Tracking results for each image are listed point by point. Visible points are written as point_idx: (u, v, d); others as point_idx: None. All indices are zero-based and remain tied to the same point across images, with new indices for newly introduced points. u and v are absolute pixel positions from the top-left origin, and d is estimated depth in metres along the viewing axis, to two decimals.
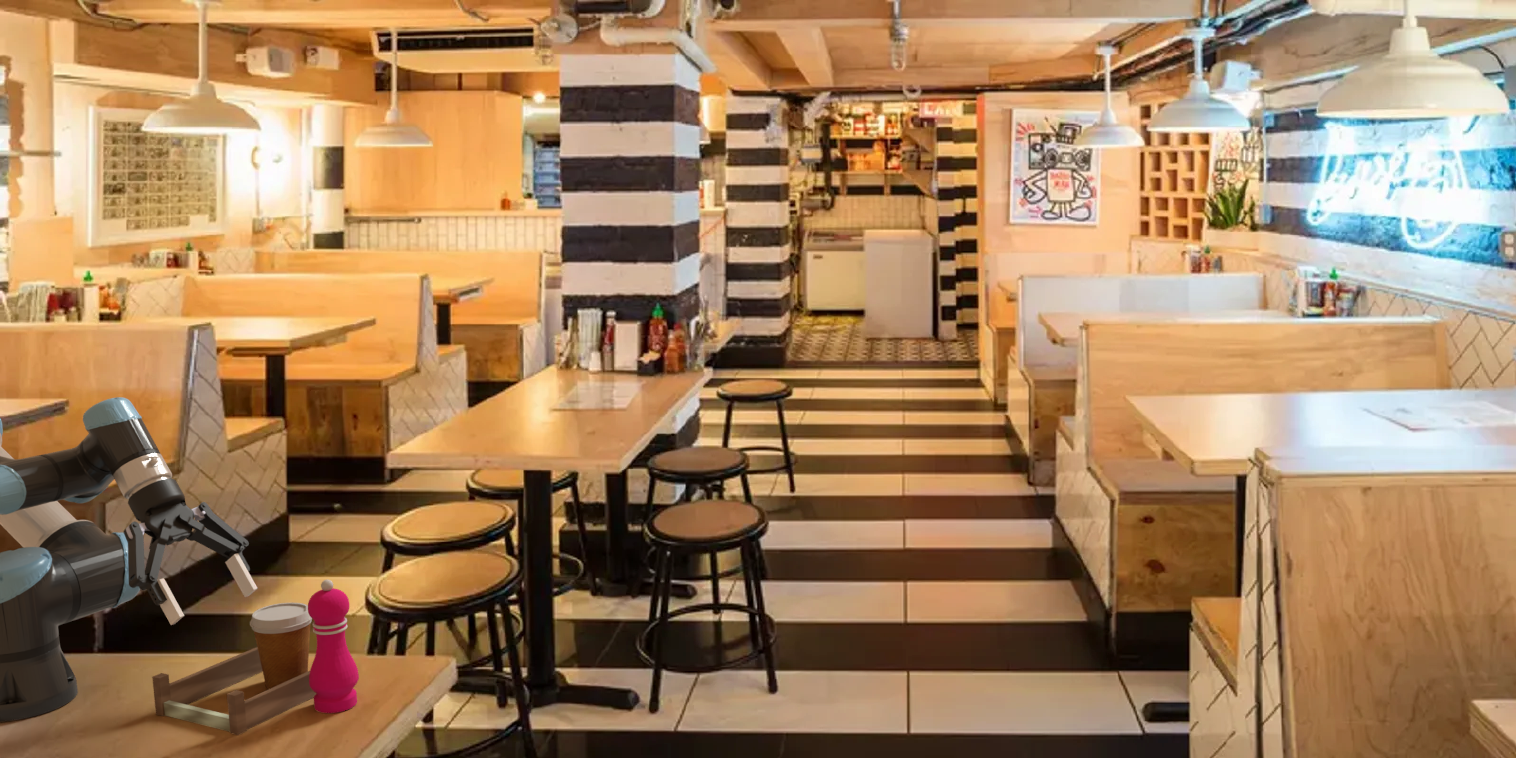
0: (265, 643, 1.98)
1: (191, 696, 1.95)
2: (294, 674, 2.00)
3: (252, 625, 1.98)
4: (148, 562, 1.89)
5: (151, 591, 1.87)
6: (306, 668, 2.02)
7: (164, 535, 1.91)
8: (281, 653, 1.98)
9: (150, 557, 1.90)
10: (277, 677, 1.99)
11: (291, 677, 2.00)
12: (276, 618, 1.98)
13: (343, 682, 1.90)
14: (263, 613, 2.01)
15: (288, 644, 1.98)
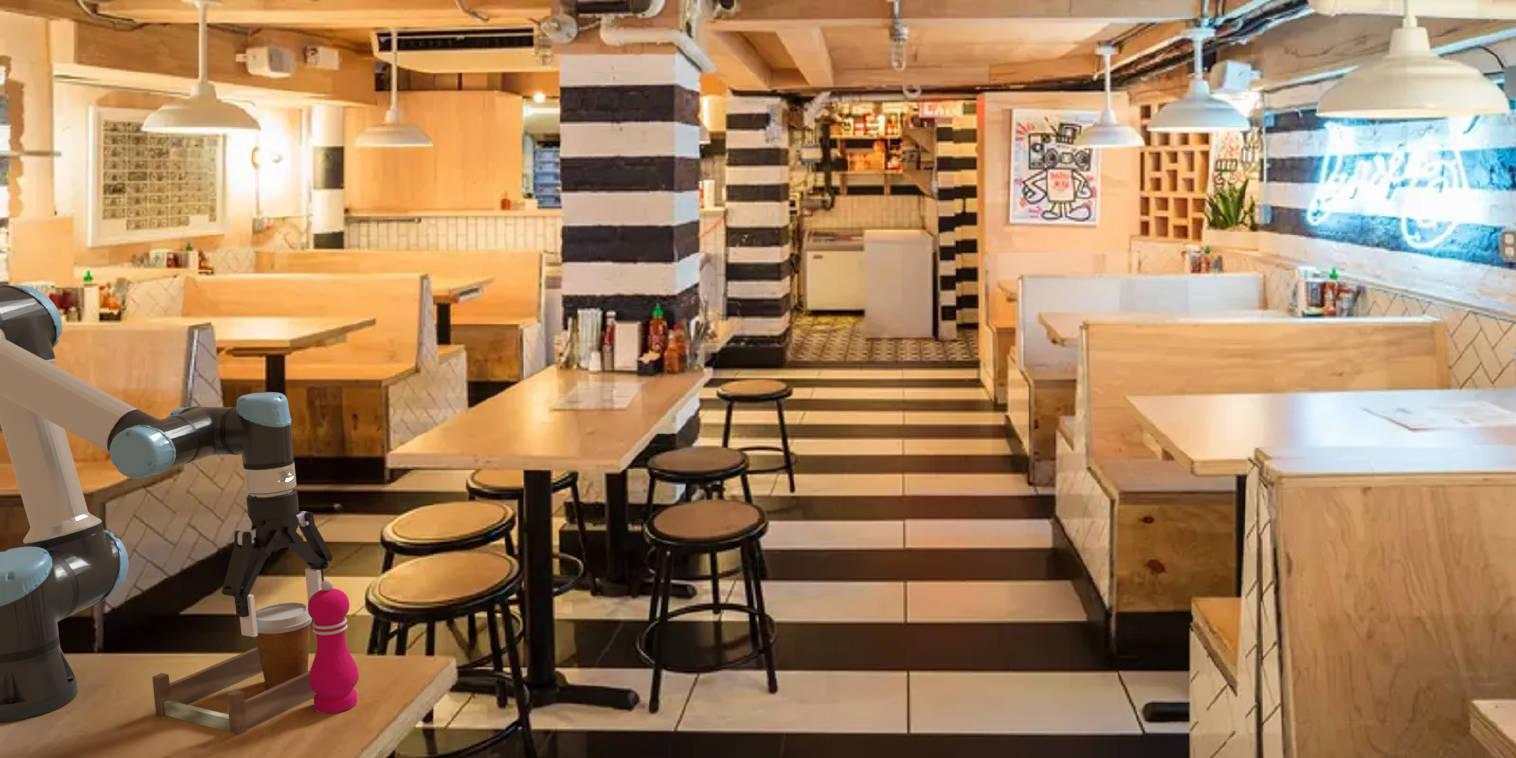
0: (265, 643, 1.98)
1: (191, 696, 1.95)
2: (294, 674, 2.00)
3: None
4: (245, 570, 1.94)
5: (238, 604, 1.93)
6: (306, 668, 2.02)
7: (268, 550, 1.95)
8: (281, 653, 1.98)
9: (248, 566, 1.94)
10: (277, 677, 1.99)
11: (291, 677, 2.00)
12: (276, 618, 1.98)
13: (343, 682, 1.90)
14: (263, 613, 2.01)
15: (288, 644, 1.98)
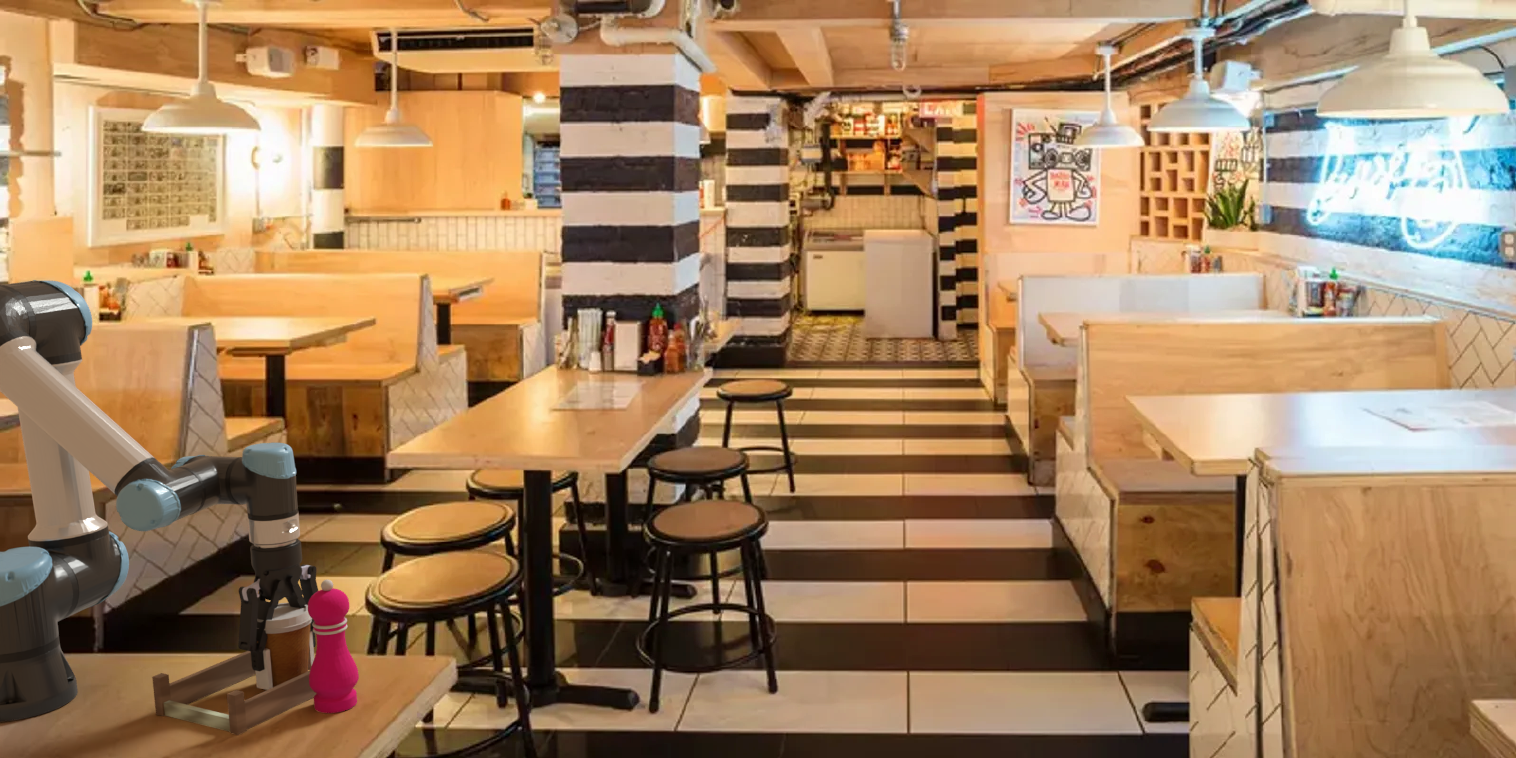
0: None
1: (191, 696, 1.95)
2: (294, 674, 2.00)
3: None
4: (256, 624, 1.97)
5: (254, 658, 1.96)
6: (306, 668, 2.02)
7: (275, 601, 1.97)
8: (281, 653, 1.98)
9: None
10: (277, 677, 1.99)
11: (291, 677, 2.00)
12: (276, 618, 1.98)
13: (343, 682, 1.90)
14: None
15: (288, 644, 1.98)
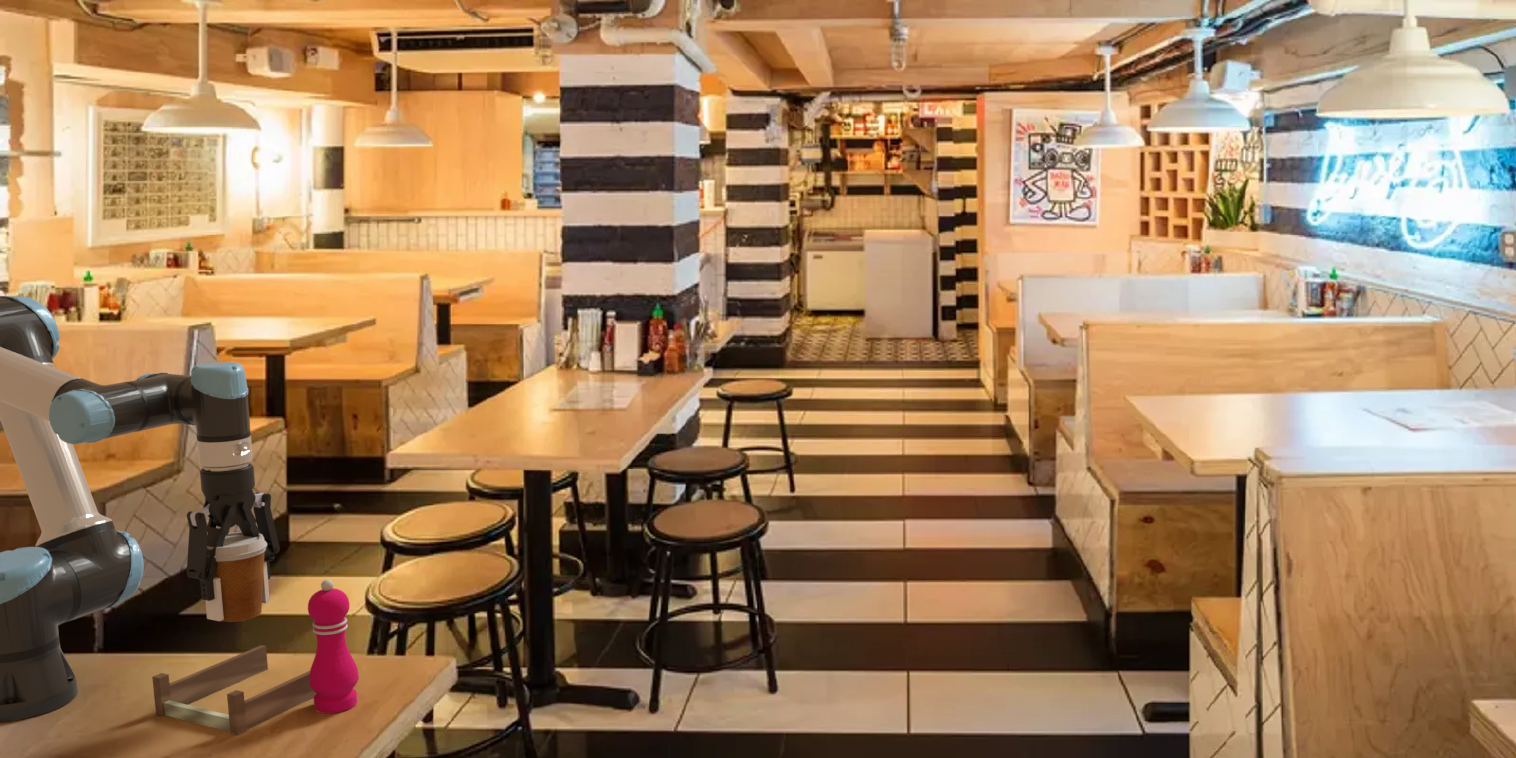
0: (216, 571, 1.88)
1: (191, 696, 1.95)
2: (246, 605, 1.91)
3: None
4: (206, 551, 1.88)
5: (204, 587, 1.87)
6: (260, 599, 1.93)
7: (226, 528, 1.88)
8: (233, 582, 1.89)
9: None
10: (229, 607, 1.90)
11: (243, 608, 1.90)
12: (227, 546, 1.89)
13: (343, 682, 1.90)
14: None
15: (239, 573, 1.89)
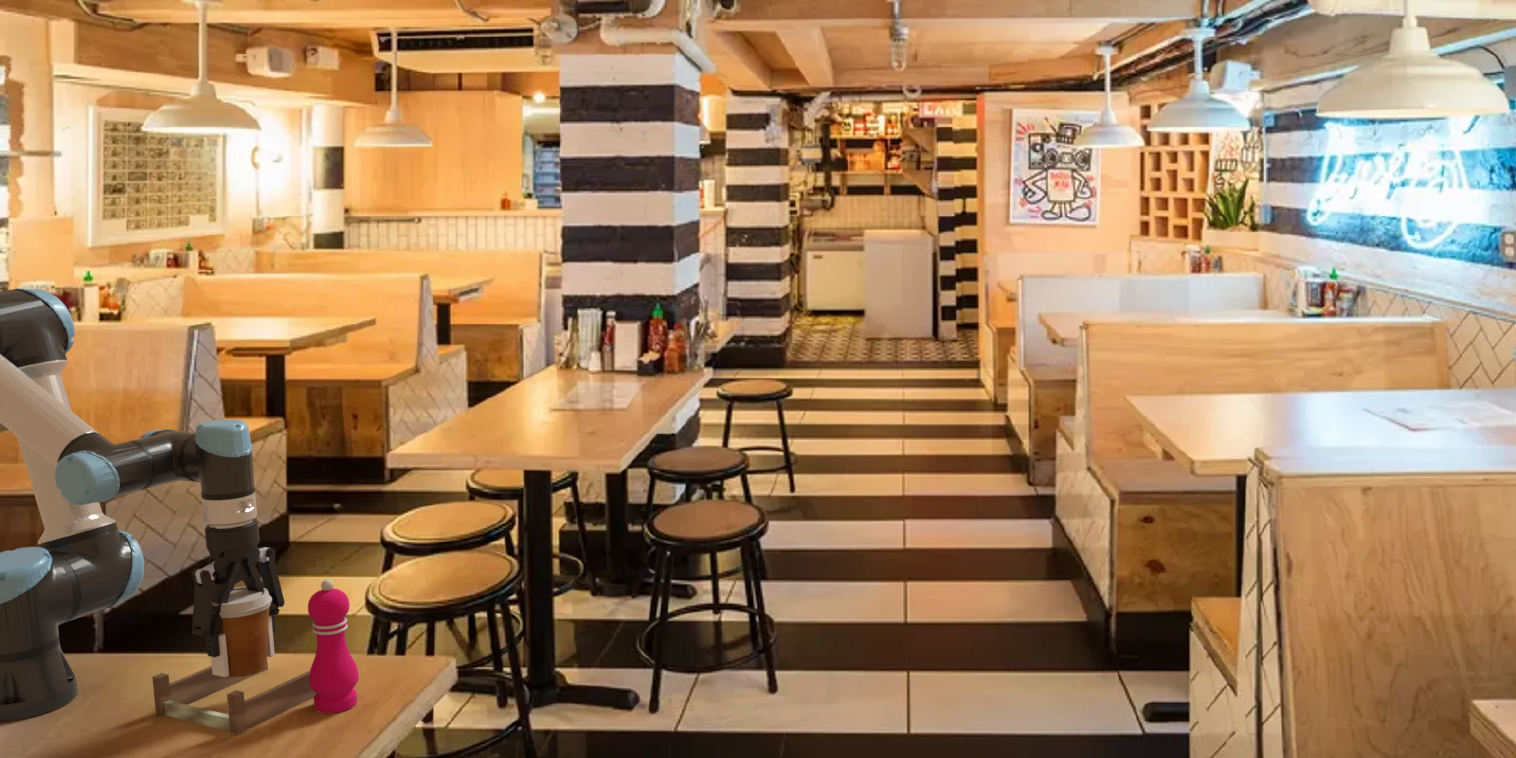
0: None
1: (191, 696, 1.95)
2: (251, 661, 1.92)
3: None
4: (211, 608, 1.89)
5: (209, 643, 1.88)
6: (265, 654, 1.94)
7: (231, 584, 1.90)
8: (238, 638, 1.90)
9: None
10: (234, 663, 1.91)
11: (249, 663, 1.92)
12: (232, 602, 1.91)
13: (343, 682, 1.90)
14: None
15: (245, 629, 1.90)
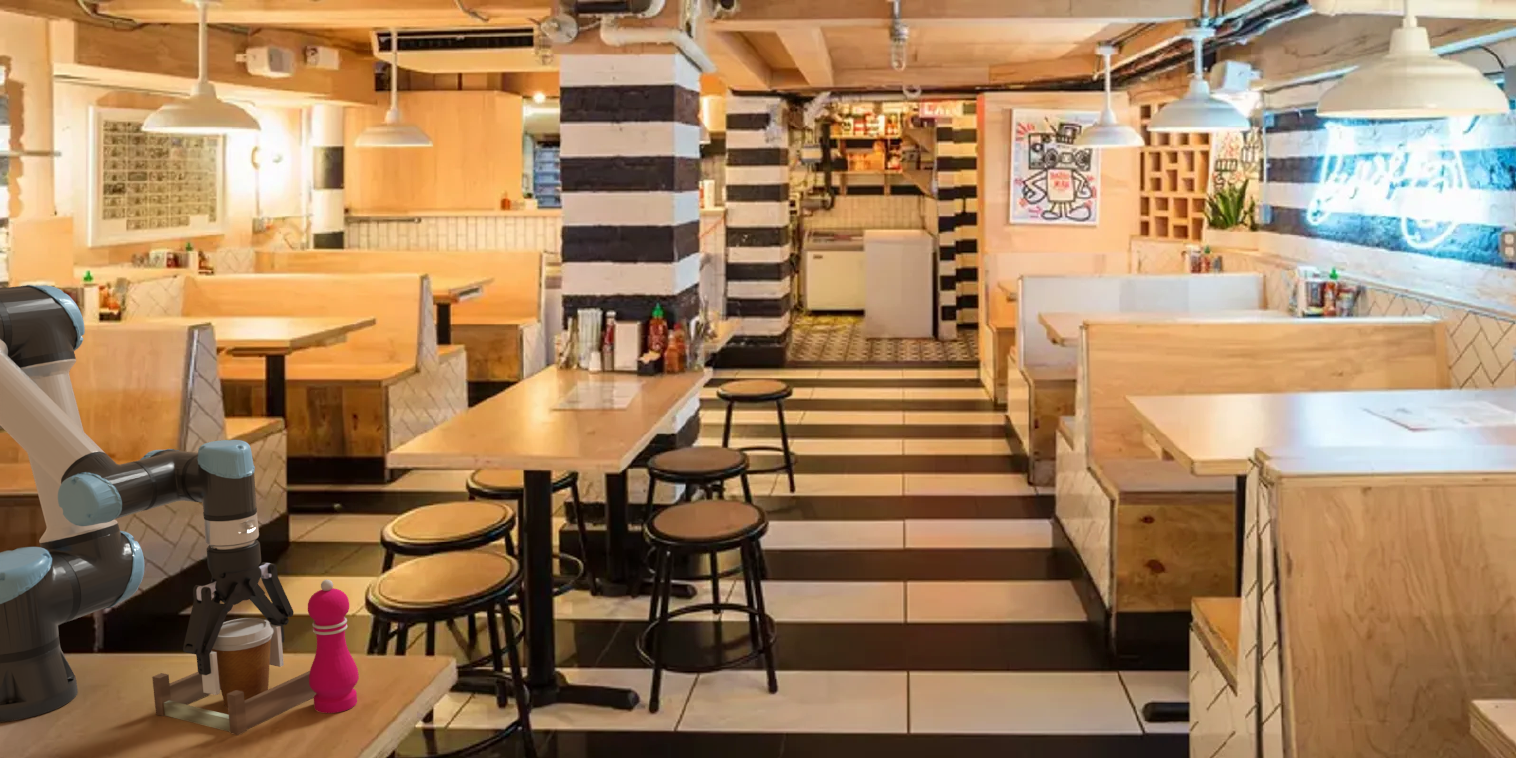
0: (223, 660, 1.90)
1: (191, 696, 1.95)
2: (253, 693, 1.93)
3: None
4: (206, 626, 1.89)
5: (200, 661, 1.87)
6: (266, 686, 1.95)
7: (229, 604, 1.90)
8: (240, 671, 1.91)
9: (209, 621, 1.89)
10: None
11: (250, 695, 1.93)
12: (234, 634, 1.91)
13: (343, 682, 1.90)
14: (221, 629, 1.94)
15: (246, 662, 1.91)
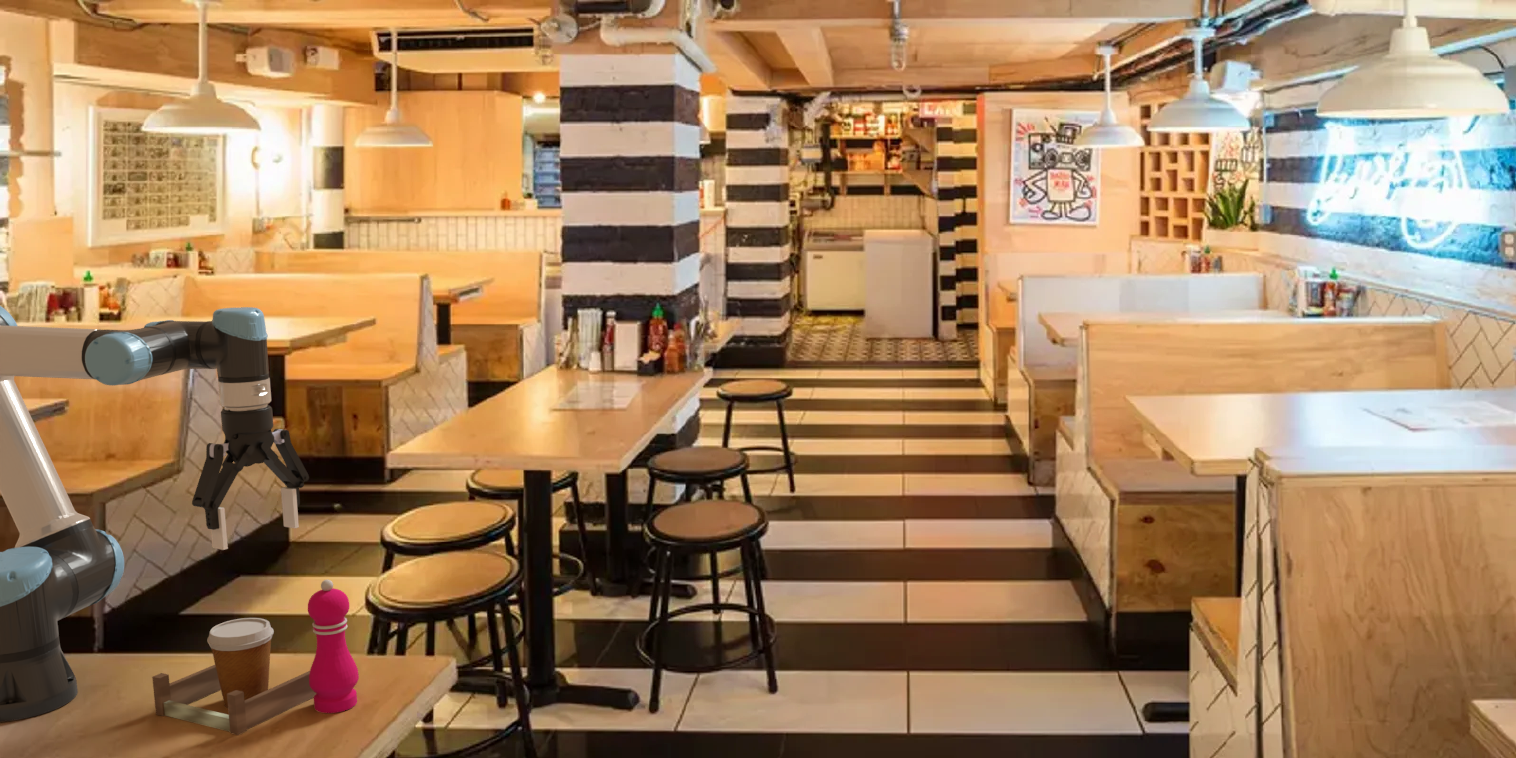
0: (223, 660, 1.90)
1: (191, 696, 1.95)
2: (253, 693, 1.93)
3: (209, 642, 1.91)
4: (216, 483, 1.95)
5: (208, 516, 1.93)
6: (266, 686, 1.95)
7: (241, 464, 1.96)
8: (240, 671, 1.91)
9: (220, 479, 1.95)
10: None
11: (250, 696, 1.92)
12: (234, 635, 1.91)
13: (343, 682, 1.90)
14: (221, 629, 1.94)
15: (246, 662, 1.91)
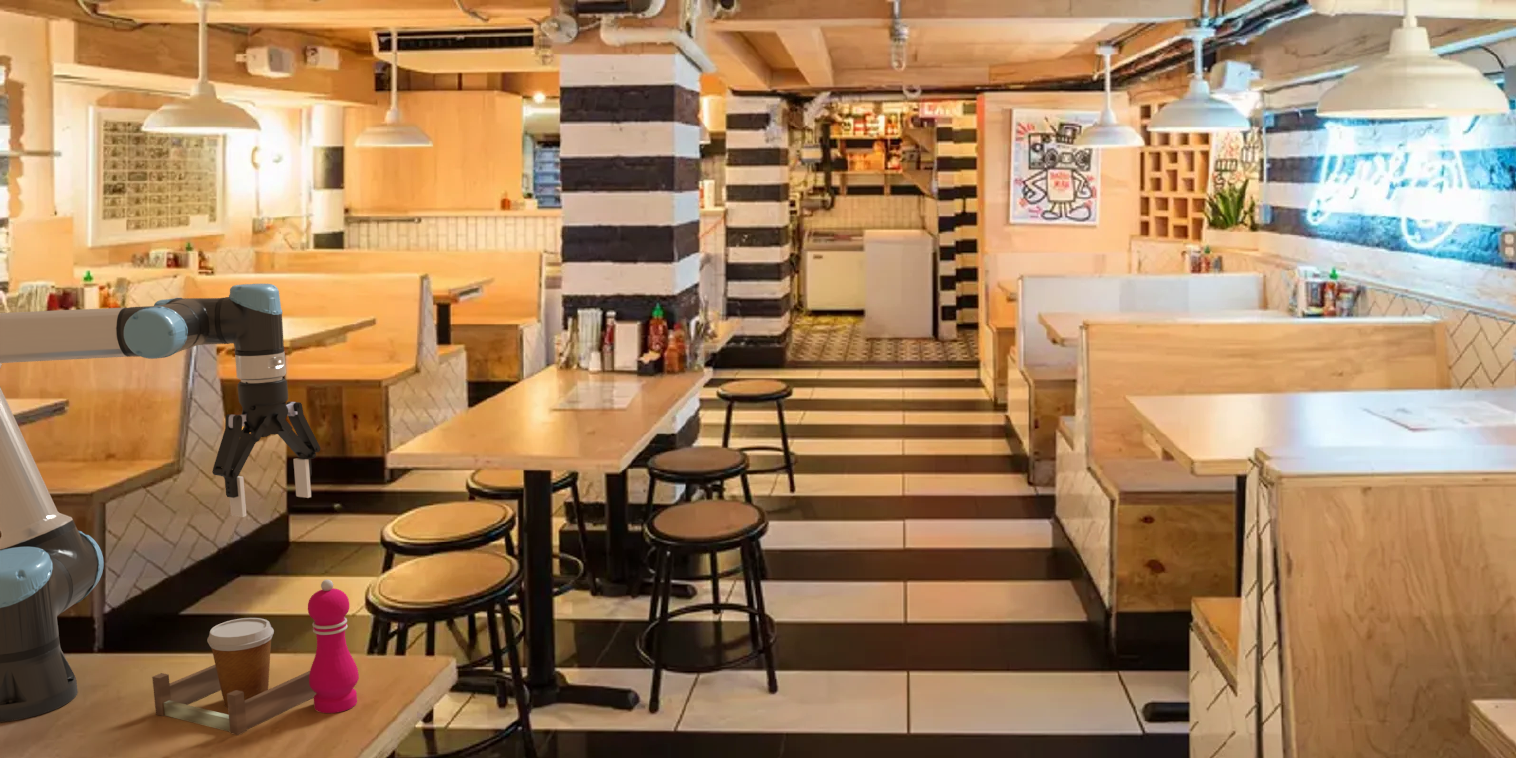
0: (223, 660, 1.90)
1: (191, 696, 1.95)
2: (253, 693, 1.93)
3: (209, 642, 1.91)
4: (235, 453, 2.02)
5: (228, 484, 2.00)
6: (266, 686, 1.95)
7: (258, 434, 2.03)
8: (240, 671, 1.91)
9: (238, 449, 2.02)
10: None
11: (250, 696, 1.92)
12: (234, 634, 1.91)
13: (343, 682, 1.90)
14: (221, 629, 1.94)
15: (246, 662, 1.91)
